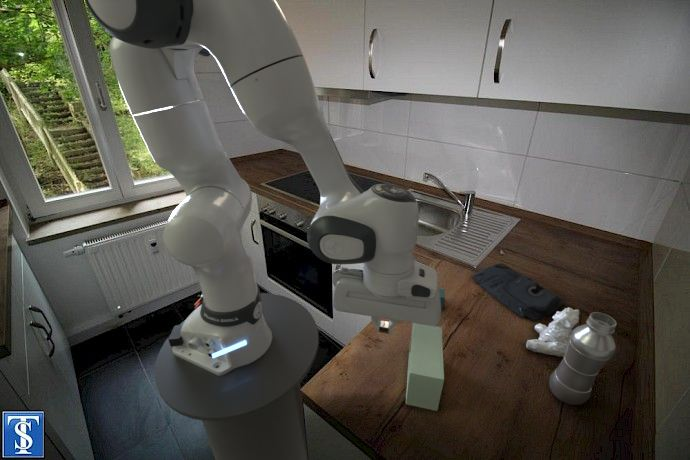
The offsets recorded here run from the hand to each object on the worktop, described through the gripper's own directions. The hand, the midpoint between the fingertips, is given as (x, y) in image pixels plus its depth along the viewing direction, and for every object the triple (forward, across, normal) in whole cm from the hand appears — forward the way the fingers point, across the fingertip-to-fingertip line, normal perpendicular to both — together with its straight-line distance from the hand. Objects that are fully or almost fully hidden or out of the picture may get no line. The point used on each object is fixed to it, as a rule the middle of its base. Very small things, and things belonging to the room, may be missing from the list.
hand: (384, 330), depth 62 cm
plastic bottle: (+12, +37, +3) cm, 39 cm away
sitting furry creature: (+12, +38, +16) cm, 43 cm away
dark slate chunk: (+12, +34, +36) cm, 51 cm away
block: (+12, +12, +25) cm, 30 cm away
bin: (+12, +9, 0) cm, 15 cm away
